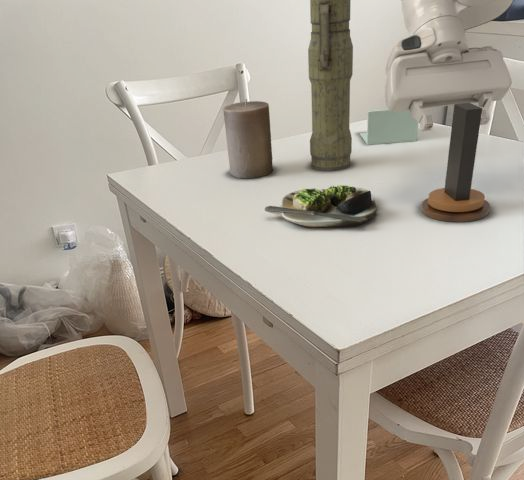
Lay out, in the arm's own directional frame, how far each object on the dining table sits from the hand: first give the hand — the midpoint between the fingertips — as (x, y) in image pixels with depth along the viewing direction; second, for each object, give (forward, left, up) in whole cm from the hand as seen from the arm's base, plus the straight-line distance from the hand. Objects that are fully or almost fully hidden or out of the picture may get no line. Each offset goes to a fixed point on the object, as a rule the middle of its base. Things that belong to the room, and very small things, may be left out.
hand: (455, 125), depth 88 cm
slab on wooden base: (-1, +3, -12) cm, 12 cm away
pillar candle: (+41, -19, -13) cm, 47 cm away
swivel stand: (-1, +3, -13) cm, 13 cm away
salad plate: (+20, +5, -13) cm, 24 cm away
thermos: (+24, -24, -13) cm, 36 cm away
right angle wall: (+13, -48, -13) cm, 51 cm away
